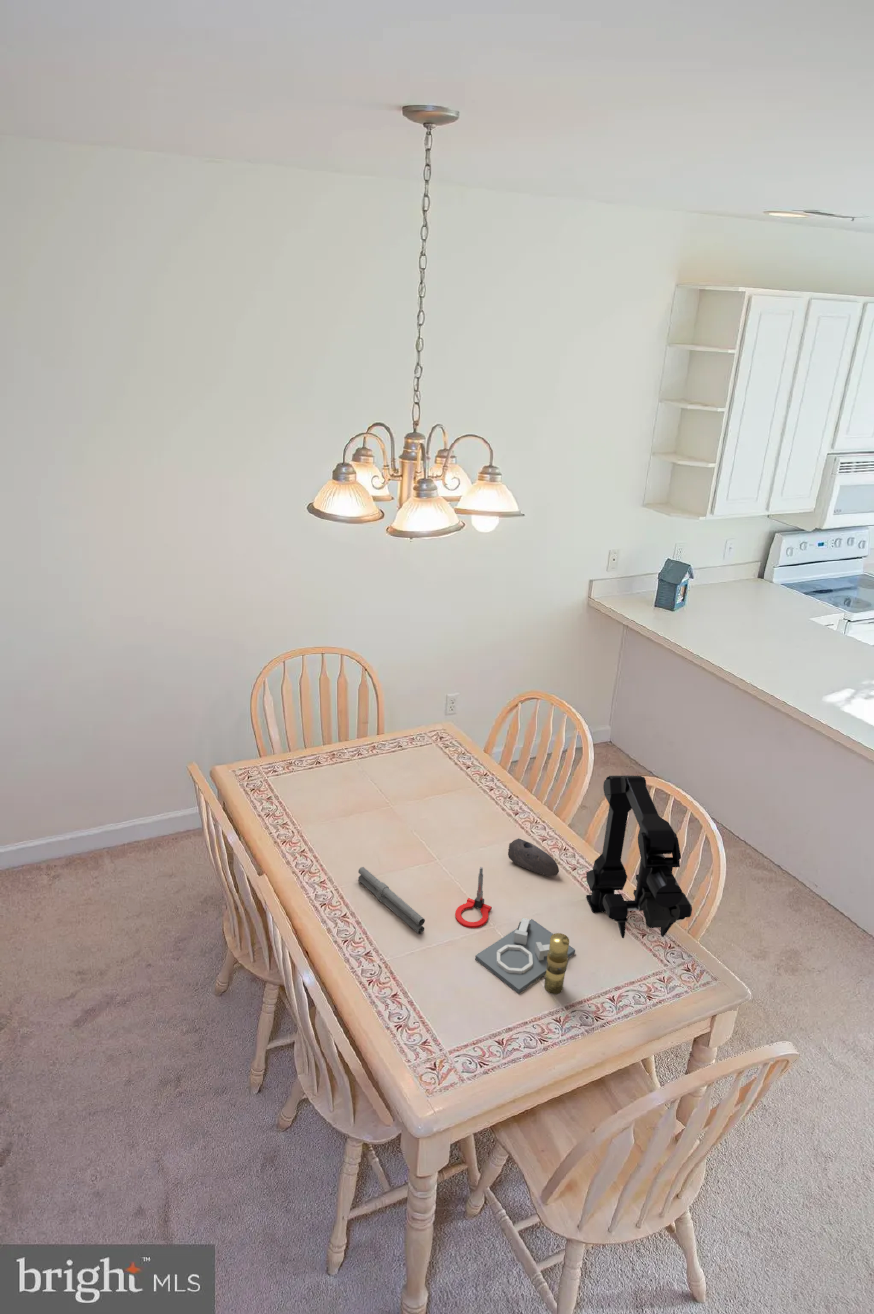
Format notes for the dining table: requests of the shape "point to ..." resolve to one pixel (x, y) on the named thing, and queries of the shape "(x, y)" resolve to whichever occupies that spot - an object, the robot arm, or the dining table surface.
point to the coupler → (556, 963)
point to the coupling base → (519, 955)
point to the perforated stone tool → (532, 858)
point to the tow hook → (477, 903)
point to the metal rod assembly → (391, 900)
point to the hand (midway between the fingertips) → (642, 936)
